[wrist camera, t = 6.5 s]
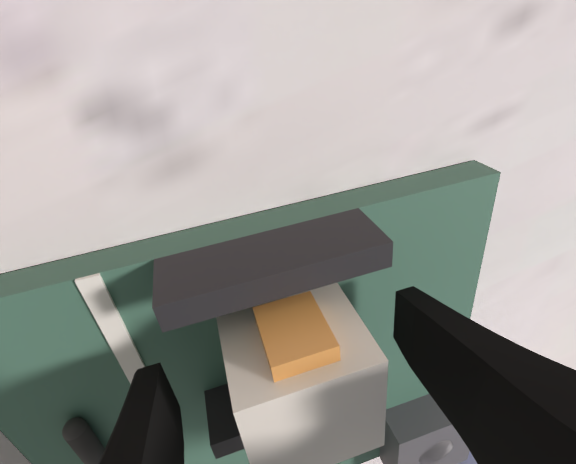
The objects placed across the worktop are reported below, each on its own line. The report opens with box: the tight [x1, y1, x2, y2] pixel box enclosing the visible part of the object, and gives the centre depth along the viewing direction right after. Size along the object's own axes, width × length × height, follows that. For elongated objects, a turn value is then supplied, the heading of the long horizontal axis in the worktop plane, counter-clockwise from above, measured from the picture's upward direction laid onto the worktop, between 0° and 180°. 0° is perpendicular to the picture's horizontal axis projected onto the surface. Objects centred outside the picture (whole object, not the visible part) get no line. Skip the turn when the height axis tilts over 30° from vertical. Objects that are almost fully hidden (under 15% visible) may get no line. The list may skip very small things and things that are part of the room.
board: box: [0, 160, 501, 464], centre depth 14 cm, size 15×17×3 cm
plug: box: [216, 283, 388, 464], centre depth 11 cm, size 4×4×4 cm
